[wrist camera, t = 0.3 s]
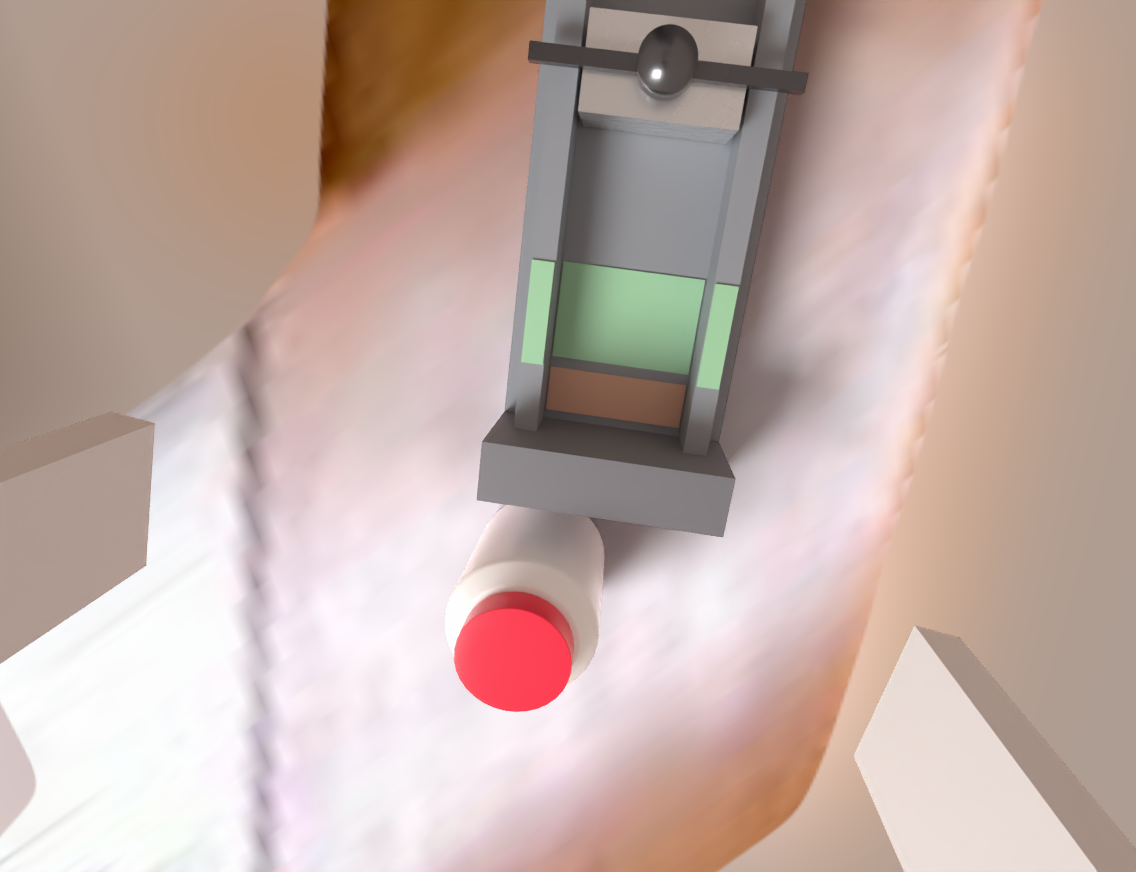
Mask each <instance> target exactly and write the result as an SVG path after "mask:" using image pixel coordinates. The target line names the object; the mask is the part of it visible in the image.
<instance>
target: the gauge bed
mask: <svg viewBox="0 0 1136 872" xmlns="http://www.w3.org/2000/svg"><path fill="white" fill-rule="evenodd" d="M805 5H806V0H546V8H545V18H544V28H543V37H542V42H546V43H555V44H563V45H572V46H581V47H585V46H586V38H587V29H588V21H589V13H590V7H595V8H603V9H612V10H621V11H630V12H639V13H647V14H656V15H665V16H674V17H683V18H691V19H700V20H709V21H718V22H727V23H735V24H744V25H753V26H758V27H757V33H756V38H755V44H754V49H753V55H752V60H751V66H752V67H760V68H769V69H778V70H786V71H793V66H794V61H795V55H796V50H797V45H798V40H799V35H800V30H801V25H802V20H803V15H804V10H805ZM582 72H583V69H577V68H569V67H560V66H552V65H543V64H540V67H539V77H538V87H537V97H536V107H535V116H534V126H533V136H532V146H531V156H530V166H529V176H528V186H527V196H526V205H525V215H524V225H523V235H522V245H521V255H520V265H519V275H518V284H517V294H516V304H515V314H514V324H513V334H512V344H511V354H510V363H509V373H508V383H507V393H506V403H505V412H504V413H503V414H502V416H501V417H500V418H499V420H498V421H497V422H496V424H495V425H494V426H493V428H492V429H491V430H490V432H489V433H488V434H487V436H486V437H485V439H484V440H483V441H482V449H481V459H480V470H479V481H478V492H477V500H479V501H486V502H493V503H499V504H506V505H512V506H519V507H526V508H532V509H539V510H546V511H552V512H559V513H565V514H572V515H579V516H585V517H592V518H599V519H605V520H612V521H618V522H625V523H632V524H638V525H645V526H652V527H658V528H665V529H671V530H678V531H685V532H691V533H698V534H704V535H711V536H718V537H723V535H724V530H725V526H726V521H727V516H728V511H729V507H730V502H731V497H732V492H733V488H734V483H735V477H734V475H733V473H732V470H731V468H730V466H729V464H728V462H727V460H726V457H725V455H724V453H723V451H722V449H721V447H720V444H719V437H720V432H721V427H722V422H723V417H724V412H725V407H726V402H727V397H728V392H729V387H730V382H731V377H732V372H733V367H734V362H735V357H736V352H737V347H738V342H739V337H740V332H741V327H742V322H743V317H744V312H745V307H746V302H747V297H748V292H749V287H750V282H751V277H752V272H753V267H754V262H755V256H756V251H757V246H758V241H759V236H760V231H761V226H762V221H763V216H764V211H765V206H766V201H767V196H768V191H769V186H770V181H771V176H772V171H773V166H774V161H775V156H776V151H777V146H778V141H779V136H780V131H781V126H782V121H783V116H784V111H785V106H786V101H787V96H788V93H780V92H772V91H763V90H755V89H746V93H745V99H744V104H743V110H742V115H741V121H740V126H739V131H738V132H737V133H736V134H735V135H734V136H733V137H732V138H731V139H730V140H729V141H728V142H727V143H726V144H720V143H712V142H703V141H695V140H687V139H679V138H671V137H663V136H654V135H646V134H638V133H630V132H622V131H614V130H605V129H597V128H589V127H584V126H583V124H582V121H581V118H580V115H579V113H578V106H579V97H580V89H581V80H582Z"/></svg>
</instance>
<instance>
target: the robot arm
mask: <svg viewBox="0 0 1136 872" xmlns="http://www.w3.org/2000/svg"><path fill="white" fill-rule="evenodd" d="M154 427H155V423H152V422H148V421H144V420H140V419H137V418H133V417H129V416H125V415H122V414H118V413H114V412H109V413H106V414H103V415H100V416H97V417H94V418H91V419H88V420H85V421H82V422H79V423H75V424H73V425H70V426H66V427H63V428H60V429H57V430H54V431H51V432H49V433H45V434H42V435H39V436H36V437H33V438H30V439H27V440H24V441H21V442H18V443H15V444H12V445H9V446H6V447H3V448H0V664H1V663H2V662H4V661H5V660H7V659H8V658H10V657H11V656H12V655H14V654H15V653H17V652H18V651H20V650H21V649H23V648H24V647H26V646H27V645H29V644H30V643H32V642H33V641H35V640H36V639H38V638H39V637H41V636H42V635H44V634H45V633H47V632H48V631H50V630H51V629H53V628H54V627H56V626H57V625H59V624H60V623H61V622H63V621H64V620H66V619H67V618H69V617H70V616H72V615H73V614H75V613H76V612H78V611H79V610H81V609H82V608H84V607H85V606H87V605H88V604H90V603H91V602H93V601H94V600H96V599H97V598H99V597H100V596H102V595H103V594H105V593H106V592H108V591H109V590H110V589H112V588H113V587H115V586H116V585H118V584H119V583H121V582H122V581H124V580H125V579H127V578H128V577H130V576H131V575H133V574H134V573H136V572H137V571H139V570H140V569H142V568H143V567H145V566H146V557H147V541H148V525H149V508H150V492H151V476H152V460H153V443H154ZM854 758H855V760H856V762H857V765H858V767H859V769H860V772H861V774H862V776H863V779H864V781H865V783H866V785H867V788H868V790H869V792H870V795H871V797H872V799H873V801H874V804H875V806H876V808H877V811H878V813H879V815H880V817H881V820H882V822H883V824H884V826H885V829H886V831H887V833H888V836H889V838H890V840H891V843H892V845H893V847H894V850H895V852H896V854H897V856H898V859H899V861H900V863H901V866H902V868H903V870H904V872H1136V848H1135V847H1134V846H1133V845H1132V843H1131V842H1130V841H1129V840H1128V839H1127V837H1126V836H1125V835H1124V834H1123V833H1122V831H1121V830H1120V829H1119V828H1118V827H1117V826H1116V824H1115V823H1114V822H1113V821H1112V820H1111V818H1110V817H1109V816H1108V815H1107V813H1106V812H1105V811H1104V810H1103V809H1102V807H1101V806H1100V805H1099V804H1098V803H1097V801H1096V800H1095V799H1094V798H1093V797H1092V795H1091V794H1090V793H1089V792H1088V791H1087V789H1086V788H1085V787H1084V786H1083V785H1082V784H1081V782H1080V781H1079V780H1078V779H1077V777H1076V776H1075V775H1074V774H1073V773H1072V772H1071V770H1070V769H1069V768H1068V767H1067V766H1066V764H1065V763H1064V762H1063V761H1062V759H1061V758H1060V757H1059V756H1058V755H1057V754H1056V752H1055V751H1054V750H1053V749H1052V748H1051V746H1050V745H1049V744H1048V743H1047V741H1046V740H1045V739H1044V738H1043V737H1042V735H1041V734H1040V733H1039V732H1038V731H1037V730H1036V728H1035V727H1034V726H1033V725H1032V723H1031V722H1030V721H1029V720H1028V719H1027V717H1026V716H1025V715H1024V714H1023V713H1022V711H1021V710H1020V709H1019V708H1018V707H1017V706H1016V705H1015V703H1014V702H1013V701H1012V700H1011V699H1010V697H1009V696H1008V695H1007V694H1006V692H1005V691H1004V690H1003V689H1002V687H1001V686H1000V685H999V684H998V683H997V681H996V680H995V679H994V678H993V677H992V676H991V674H990V673H989V672H988V671H987V669H986V668H985V667H984V666H983V665H982V664H981V662H980V661H979V660H978V659H977V658H976V656H975V655H974V654H973V653H972V652H971V650H970V649H969V648H968V647H967V646H966V644H965V643H964V642H963V641H962V640H961V639H960V637H955V636H952V635H948V634H944V633H941V632H937V631H933V630H930V629H926V628H922V627H918V626H914V628H913V630H912V633H911V635H910V637H909V640H908V641H907V643H906V645H905V648H904V650H903V652H902V654H901V656H900V658H899V660H898V662H897V665H896V667H895V669H894V671H893V673H892V676H891V677H890V680H889V682H888V684H887V686H886V688H885V690H884V692H883V694H882V697H881V699H880V701H879V703H878V705H877V707H876V709H875V712H874V714H873V716H872V718H871V720H870V722H869V725H868V727H867V729H866V731H865V733H864V735H863V737H862V739H861V741H860V744H859V746H858V748H857V750H856V752H855V754H854Z"/></svg>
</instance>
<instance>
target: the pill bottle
mask: <svg viewBox="0 0 1136 872" xmlns="http://www.w3.org/2000/svg"><path fill="white" fill-rule="evenodd" d="M604 561H605V553H604V545H603V541H602V539H601V536H600V533H599V531H598V529H597V528H596V526H595V524H594V523H593V522H592V521H591V519H590V518H589V517H585V516H579V515H572V514H565V513H559V512H552V511H546V510H539V509H532V508H526V507H519V506H512V505H505V506H504V507H502V508H501V509H500V510H499V511H497V512H496V513H495V514H494V515H493V517H492V518H491V519H490V520H489V522H488V523H487V525H486V527H485V529H484V531H483V533H482V535H481V537H480V539H479V541H478V543H477V545H476V547H475V549H474V551H473V553H472V555H471V557H470V559H469V561H468V563H467V565H466V567H465V569H464V571H463V573H462V575H461V577H460V579H459V581H458V583H457V585H456V587H455V589H454V591H453V593H452V595H451V597H450V599H449V601H448V605H447V609H446V613H445V630H446V635H447V640H448V643H449V646H450V648H451V650H452V653H453V655H454V663H455V668H456V671H457V673H458V676H459V678H460V680H461V681H462V683H463V684H464V686H465V687H466V689H467V690H468V691H469V692H470V693H471V694H472V695H473V696H475V697H476V698H477V699H479V700H480V701H482V702H483V703H485V704H487V705H490V706H492V707H494V708H498V709H501V710H505V711H514V712H519V711H529V710H534V709H538V708H540V707H542V706H545V705H547V704H548V703H550V702H551V701H553V700H554V699H556V698H557V697H558V695H559V694H560V693H561V692H562V691H563V690H564V688H565V687H566V686H567V685H569V684H570V683H572V682H573V681H574V680H576V679H577V678H578V677H579V676H580V675H581V674H582V673H583V672H584V671H585V670H586V668H587V667H588V665H589V663H590V662H591V660H592V658H593V657H594V654H595V651H596V648H597V645H598V639H599V628H600V614H601V601H602V588H603V574H604Z"/></svg>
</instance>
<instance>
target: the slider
mask: <svg viewBox="0 0 1136 872" xmlns="http://www.w3.org/2000/svg"><path fill="white" fill-rule="evenodd" d="M757 27H758V26H753V25H744V24H735V23H727V22H718V21H709V20H700V19H691V18H683V17H674V16H665V15H656V14H647V13H639V12H630V11H621V10H612V9H603V8H595V7H590V13H589V21H588V29H587V38H586V46H585V47H581V46H572V45H563V44H555V43H546V42H538V41H530V43H529V53H528V60H529V62H530V63H535V64H543V65H552V66H560V67H569V68H577V69H583V72H582V80H581V89H580V97H579V106H578V113H579V115H580V118H581V121H582V124H583V126H584V127H589V128H597V129H605V130H614V131H622V132H630V133H638V134H646V135H654V136H663V137H671V138H679V139H687V140H695V141H703V142H712V143H720V144H726V143H727V142H728V141H729V140H730V139H731V138H732V137H733V136H734V135H735V134H736V133H737V132H738V131H739V126H740V121H741V115H742V110H743V104H744V99H745V93H746V89H755V90H763V91H772V92H780V93H788V94H797V95H801V94H803V93H804V92H805V87H806V82H807V77H808V73H803V72H795V71H786V70H778V69H769V68H760V67H752V66H751V60H752V55H753V49H754V44H755V38H756V33H757Z"/></svg>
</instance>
